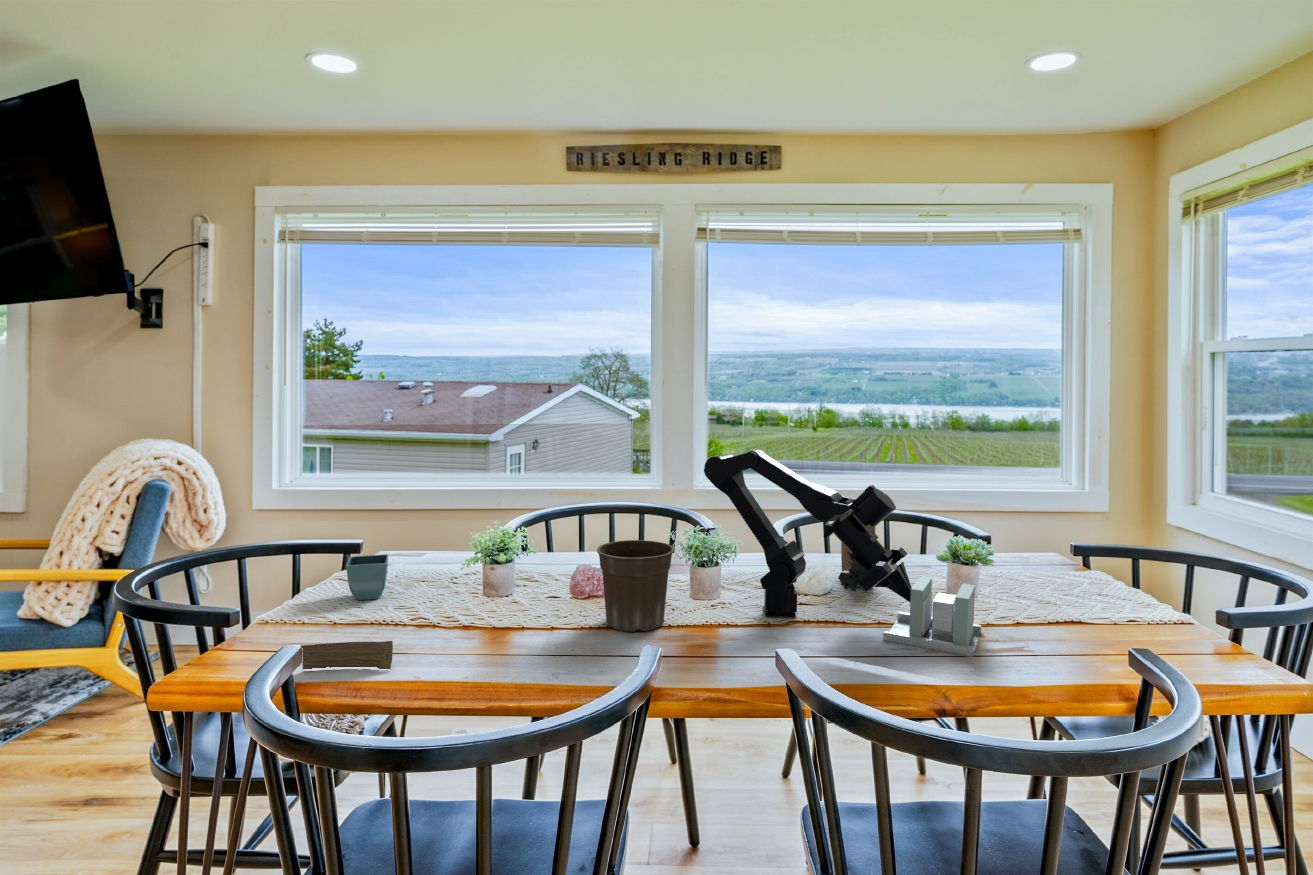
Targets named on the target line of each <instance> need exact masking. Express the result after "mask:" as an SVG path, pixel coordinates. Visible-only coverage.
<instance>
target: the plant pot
mask: <svg viewBox="0 0 1313 875" xmlns="http://www.w3.org/2000/svg"><path fill="white" fill-rule="evenodd" d="M596 552H597V554H598V556H599V566H600V569H601V570H602V571H601V572H602V583H603V593H604V594H603V595H604V605H605V606H604V607H605V618H606V619H605V620H606V622H607V625H608V627H609V628H612V629H614V630H615V631H616V630H617V631H620V632H629V633H633V632H636V631H637V630H640V631H642V632H648V631H653V630H657V629H659V628H661V626H663V625H664V624H665V614H666V612H665V611H666V603H667V602H666V601H667V592H668V579H669V572H670V571H669V570H670V569H671V567H672V565H671V564H672V555H673V553H674V552H675V547H674V546H673V545H671V544H668V543H665V542H662V541H656V540H644V539H643V540H641V539H640V540H639V539H631V540H629V539H627V540H616V541H611V542H606V543H602V544H600V545H599V546H598V547H596Z"/></svg>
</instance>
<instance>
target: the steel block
mask: <svg viewBox="0 0 1313 875" xmlns="http://www.w3.org/2000/svg"><path fill="white" fill-rule="evenodd" d="M956 595H957V594H949V593H942V592H937V594H936V596H935V597H934V599H932V639H934V640H939V641H945V642H950V643H952V641H953V623H954V609H955V597H956Z"/></svg>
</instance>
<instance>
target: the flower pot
mask: <svg viewBox="0 0 1313 875" xmlns="http://www.w3.org/2000/svg"><path fill="white" fill-rule="evenodd" d="M388 566H389V554H371V555H355V556H354V555H353V556H349V557H348V560H347V563H346V566H345V568H346V569H345V570H346V577H347V582H348V587H349V590H350V593H351V594H352V596H353V598H354V599H355V600H356V601H364V600H377V599H378V600H379V599H380V598H381V597H382V595H383V593H384V590H385V588H386V582H387V575H388Z"/></svg>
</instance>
